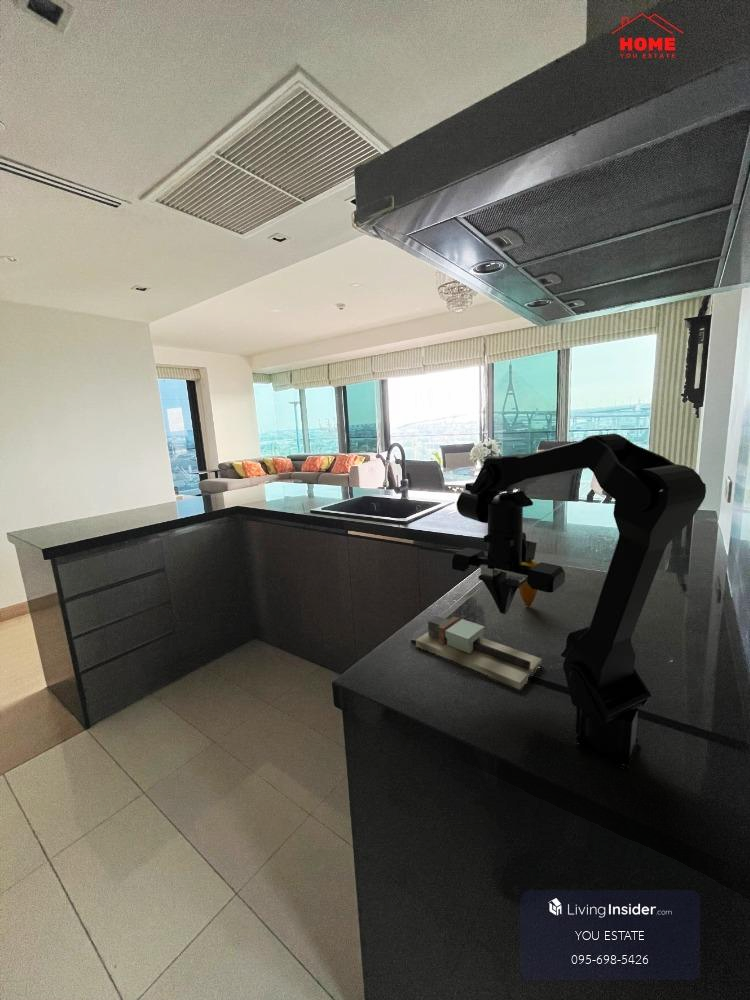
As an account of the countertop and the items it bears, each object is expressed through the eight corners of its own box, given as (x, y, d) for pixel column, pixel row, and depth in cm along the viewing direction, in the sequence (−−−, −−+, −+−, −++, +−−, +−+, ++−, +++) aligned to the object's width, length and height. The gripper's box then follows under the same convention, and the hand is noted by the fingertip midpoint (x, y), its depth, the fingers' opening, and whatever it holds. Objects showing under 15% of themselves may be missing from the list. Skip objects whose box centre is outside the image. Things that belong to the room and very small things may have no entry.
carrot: (540, 612, 96) (541, 550, 93) (517, 610, 97) (518, 549, 94) (537, 602, 101) (539, 543, 98) (516, 601, 102) (517, 543, 99)
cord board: (541, 666, 76) (542, 640, 75) (520, 690, 69) (520, 663, 68) (441, 629, 91) (440, 607, 90) (416, 646, 84) (415, 623, 83)
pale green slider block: (484, 641, 81) (484, 626, 81) (468, 654, 77) (468, 639, 77) (462, 633, 85) (462, 619, 84) (445, 645, 81) (445, 630, 80)
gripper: (578, 526, 70) (574, 611, 73) (480, 513, 83) (480, 585, 86) (553, 542, 62) (550, 636, 65) (448, 525, 75) (450, 604, 78)
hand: (504, 612), depth 74 cm, fingers closed
